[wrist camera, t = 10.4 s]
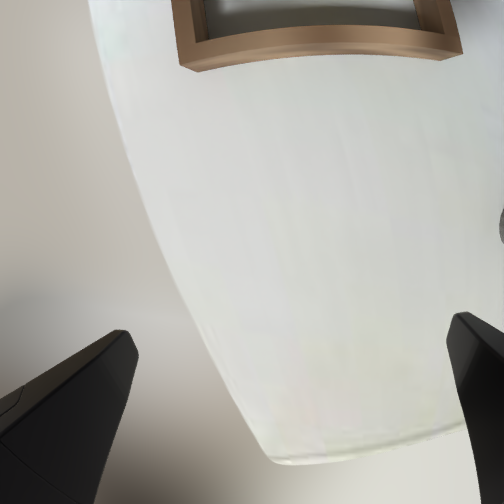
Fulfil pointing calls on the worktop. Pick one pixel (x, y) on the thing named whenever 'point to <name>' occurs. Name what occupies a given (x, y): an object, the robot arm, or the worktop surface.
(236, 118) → the worktop surface
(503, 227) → the beverage cup
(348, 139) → the worktop surface
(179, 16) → the box
